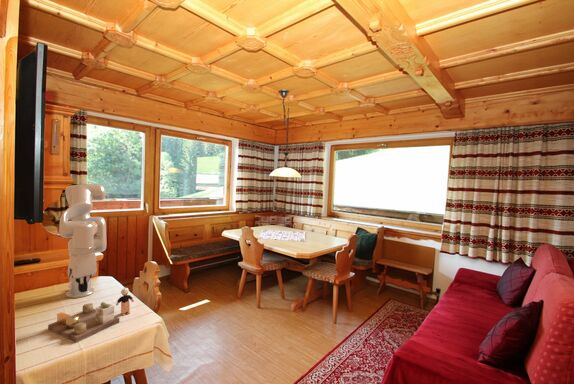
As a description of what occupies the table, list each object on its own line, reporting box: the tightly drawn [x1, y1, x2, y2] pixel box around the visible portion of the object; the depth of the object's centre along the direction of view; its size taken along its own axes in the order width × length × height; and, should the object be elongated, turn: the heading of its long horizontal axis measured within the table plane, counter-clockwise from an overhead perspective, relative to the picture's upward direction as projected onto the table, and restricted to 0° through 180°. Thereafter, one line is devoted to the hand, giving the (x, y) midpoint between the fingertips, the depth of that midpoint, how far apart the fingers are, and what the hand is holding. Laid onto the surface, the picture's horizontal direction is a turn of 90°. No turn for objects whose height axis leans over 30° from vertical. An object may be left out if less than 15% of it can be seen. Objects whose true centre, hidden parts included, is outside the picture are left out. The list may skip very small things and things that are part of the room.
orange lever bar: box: [56, 312, 79, 329], centre depth 123 cm, size 12×4×4 cm, turn 66°
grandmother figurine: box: [115, 287, 135, 317], centre depth 137 cm, size 8×4×13 cm, turn 148°
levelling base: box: [47, 301, 120, 343], centre depth 126 cm, size 20×18×10 cm
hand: (83, 291), depth 129 cm, fingers closed
